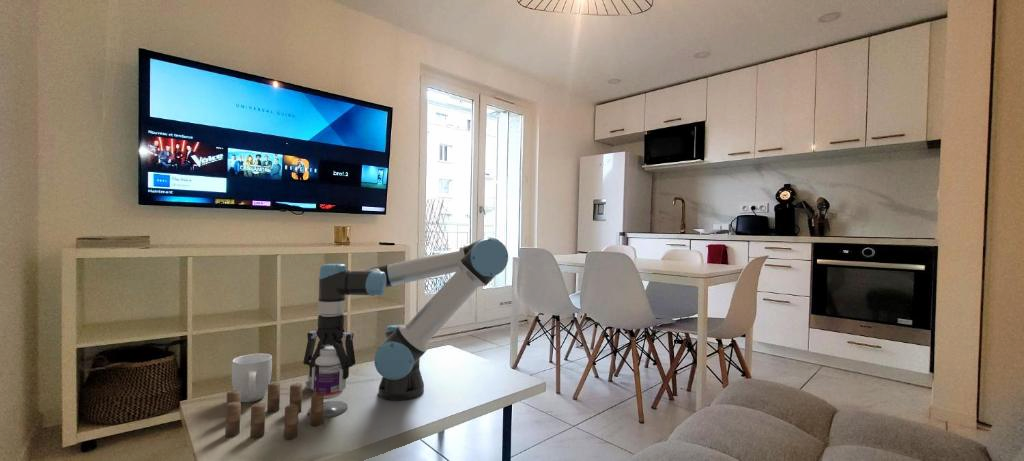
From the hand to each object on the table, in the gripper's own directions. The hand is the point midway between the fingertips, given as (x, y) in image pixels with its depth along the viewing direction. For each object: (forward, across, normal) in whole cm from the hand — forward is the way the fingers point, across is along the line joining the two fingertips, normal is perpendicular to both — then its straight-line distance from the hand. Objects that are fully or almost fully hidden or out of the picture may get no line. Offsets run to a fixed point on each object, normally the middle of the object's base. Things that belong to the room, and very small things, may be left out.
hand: (328, 388), depth 125 cm
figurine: (+7, +12, -17) cm, 22 cm away
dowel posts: (+7, +11, +10) cm, 16 cm away
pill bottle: (+2, 0, 0) cm, 2 cm away
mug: (+7, +28, -4) cm, 29 cm away
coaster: (+7, 0, 0) cm, 7 cm away
